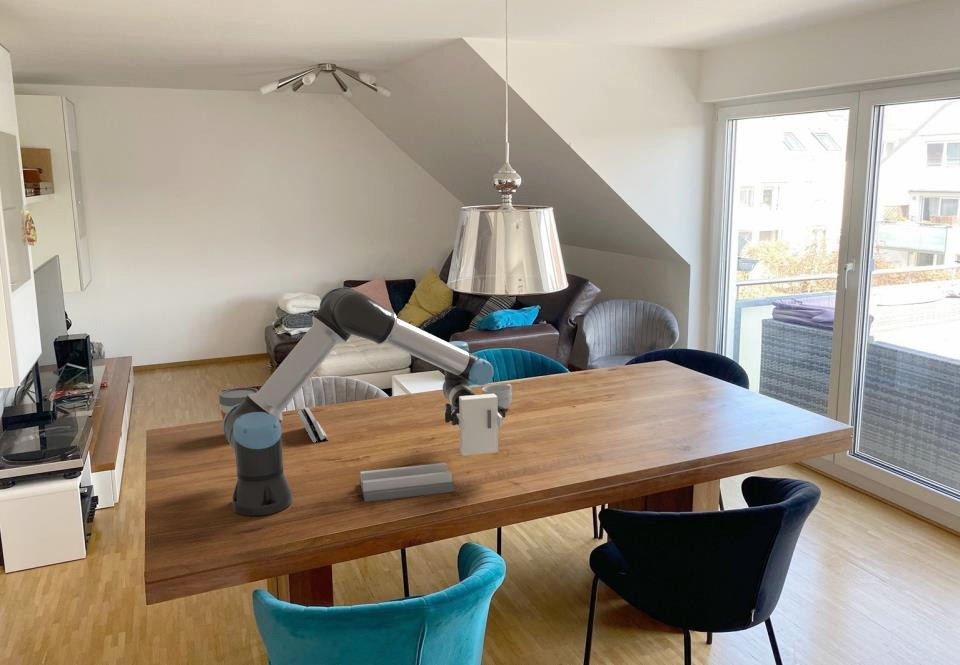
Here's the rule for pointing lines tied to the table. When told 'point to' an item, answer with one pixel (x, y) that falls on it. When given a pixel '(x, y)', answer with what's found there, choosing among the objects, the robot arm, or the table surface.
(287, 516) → the table surface
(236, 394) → the reusable coffee cup
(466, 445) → the door panel
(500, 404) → the teacup
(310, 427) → the white and black console
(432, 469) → the track
